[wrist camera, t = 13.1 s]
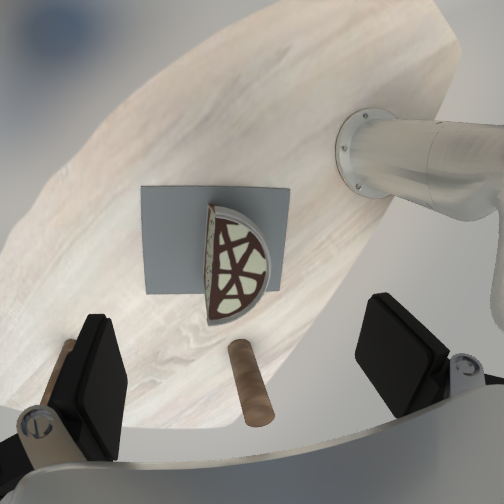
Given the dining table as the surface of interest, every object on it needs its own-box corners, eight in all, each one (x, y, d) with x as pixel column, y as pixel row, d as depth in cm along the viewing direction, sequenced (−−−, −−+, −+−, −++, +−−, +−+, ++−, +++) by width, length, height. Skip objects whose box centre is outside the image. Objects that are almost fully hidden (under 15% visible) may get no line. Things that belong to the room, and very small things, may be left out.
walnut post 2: (252, 338, 45) (276, 407, 32) (250, 356, 46) (273, 425, 33) (228, 339, 44) (245, 411, 31) (227, 357, 45) (244, 428, 32)
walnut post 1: (82, 339, 39) (58, 407, 26) (87, 357, 40) (68, 425, 27) (61, 338, 38) (34, 404, 25) (67, 356, 39) (44, 422, 27)
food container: (248, 286, 41) (266, 329, 32) (202, 285, 39) (208, 330, 30) (259, 194, 36) (285, 215, 27) (208, 191, 35) (216, 210, 26)
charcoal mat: (289, 188, 37) (290, 189, 37) (278, 289, 42) (279, 290, 42) (141, 186, 34) (140, 187, 33) (146, 292, 38) (146, 294, 38)
